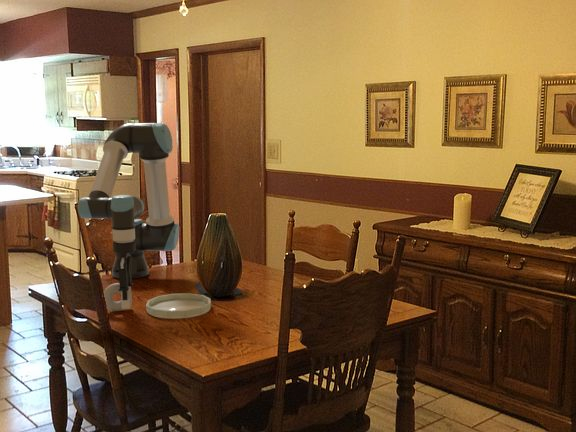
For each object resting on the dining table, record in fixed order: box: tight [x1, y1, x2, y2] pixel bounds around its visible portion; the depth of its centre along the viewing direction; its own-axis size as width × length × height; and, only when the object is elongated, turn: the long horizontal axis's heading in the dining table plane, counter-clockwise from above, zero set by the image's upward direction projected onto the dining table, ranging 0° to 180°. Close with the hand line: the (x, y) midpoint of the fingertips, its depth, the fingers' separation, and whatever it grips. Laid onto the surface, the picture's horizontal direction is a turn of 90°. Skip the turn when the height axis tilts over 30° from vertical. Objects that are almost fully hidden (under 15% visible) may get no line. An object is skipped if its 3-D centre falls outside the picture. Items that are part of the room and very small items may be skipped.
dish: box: [145, 292, 212, 320], centre depth 236 cm, size 22×22×3 cm
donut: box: [103, 282, 133, 312], centre depth 233 cm, size 10×4×10 cm, turn 106°
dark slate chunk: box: [194, 281, 243, 299], centre depth 261 cm, size 15×22×5 cm
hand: (126, 306), depth 235 cm, fingers closed on donut, 4 cm apart
